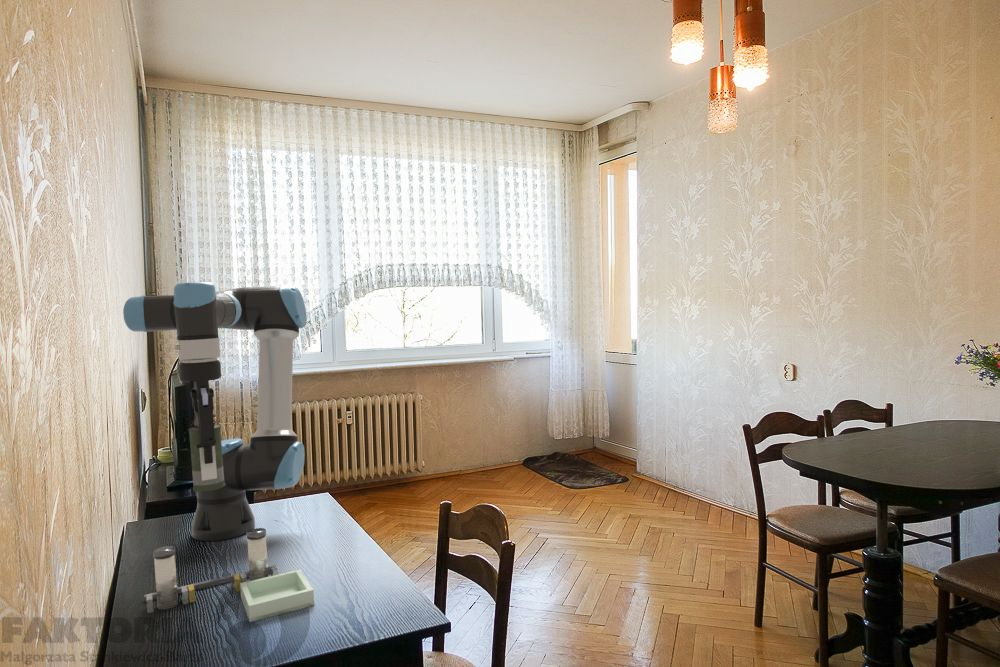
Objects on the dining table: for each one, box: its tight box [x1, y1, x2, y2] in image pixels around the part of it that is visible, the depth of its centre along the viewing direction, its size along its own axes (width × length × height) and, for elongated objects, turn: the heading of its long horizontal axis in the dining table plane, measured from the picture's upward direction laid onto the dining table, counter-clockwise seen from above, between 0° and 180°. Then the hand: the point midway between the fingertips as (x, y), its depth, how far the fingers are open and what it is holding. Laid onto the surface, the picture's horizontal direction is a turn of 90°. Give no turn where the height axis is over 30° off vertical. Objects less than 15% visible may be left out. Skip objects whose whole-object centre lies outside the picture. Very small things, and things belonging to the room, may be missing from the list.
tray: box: [240, 568, 315, 623], centre depth 126 cm, size 12×12×3 cm
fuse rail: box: [143, 527, 279, 614], centre depth 132 cm, size 7×25×11 cm, turn 119°
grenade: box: [187, 413, 225, 493], centre depth 129 cm, size 6×6×15 cm
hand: (207, 475), depth 130 cm, fingers closed on grenade, 6 cm apart
